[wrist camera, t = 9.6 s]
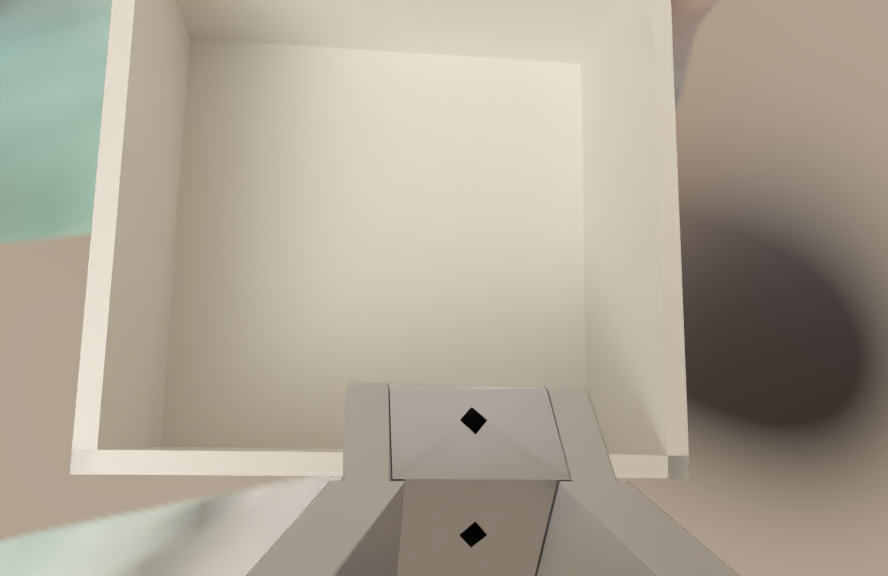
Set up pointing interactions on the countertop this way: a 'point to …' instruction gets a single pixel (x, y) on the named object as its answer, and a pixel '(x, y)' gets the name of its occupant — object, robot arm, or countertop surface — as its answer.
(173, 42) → the box
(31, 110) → the countertop surface
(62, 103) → the countertop surface
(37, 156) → the countertop surface
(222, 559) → the countertop surface
